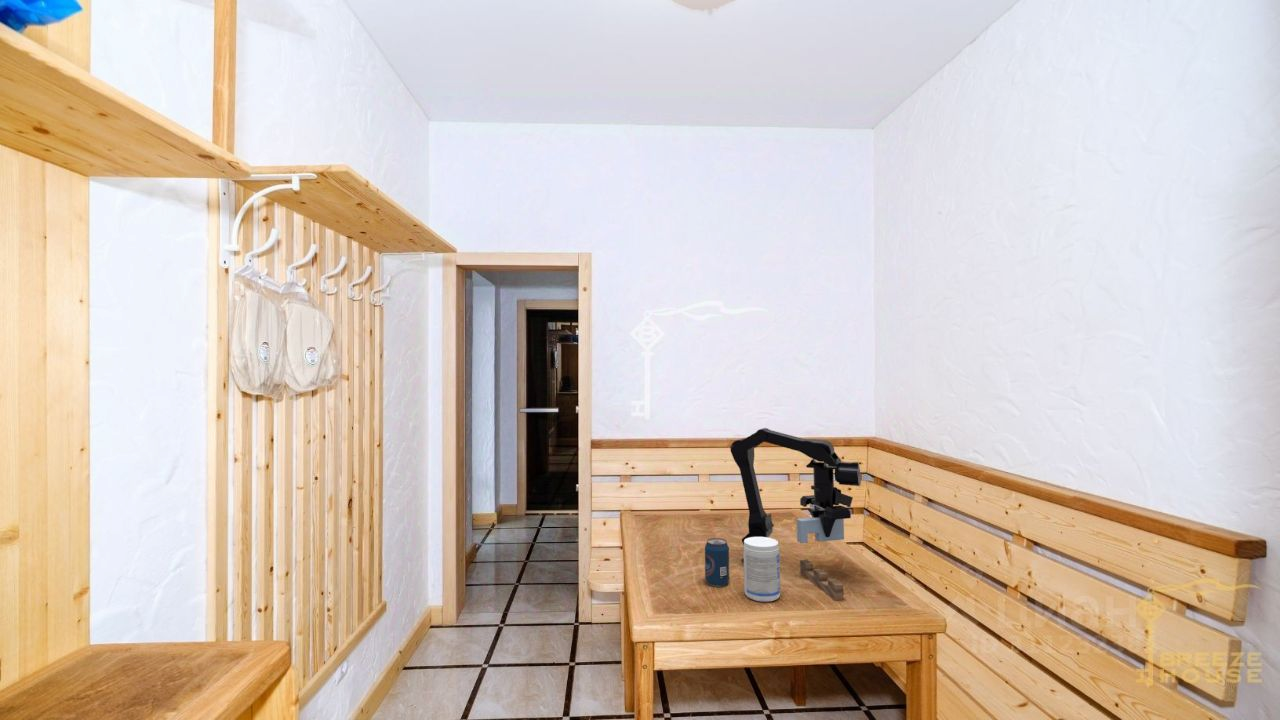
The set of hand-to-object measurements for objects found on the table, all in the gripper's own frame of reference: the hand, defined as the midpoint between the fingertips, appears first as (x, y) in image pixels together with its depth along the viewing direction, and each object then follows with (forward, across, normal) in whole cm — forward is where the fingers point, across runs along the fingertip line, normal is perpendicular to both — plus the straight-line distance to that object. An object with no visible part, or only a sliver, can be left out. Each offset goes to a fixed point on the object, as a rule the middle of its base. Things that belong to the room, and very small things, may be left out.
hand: (825, 535), depth 162 cm
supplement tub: (+12, -9, +25) cm, 29 cm away
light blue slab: (+1, 0, +1) cm, 2 cm away
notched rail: (+12, -7, +6) cm, 15 cm away
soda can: (+12, +2, +34) cm, 36 cm away
